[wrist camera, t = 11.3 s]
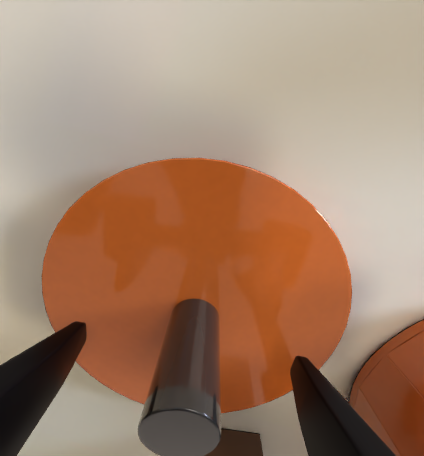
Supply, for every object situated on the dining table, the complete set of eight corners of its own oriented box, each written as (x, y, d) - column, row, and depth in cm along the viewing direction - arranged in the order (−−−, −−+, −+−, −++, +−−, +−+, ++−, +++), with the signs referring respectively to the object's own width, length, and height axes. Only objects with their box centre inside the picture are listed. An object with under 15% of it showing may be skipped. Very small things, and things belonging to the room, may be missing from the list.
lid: (213, 423, 14) (211, 576, 9) (14, 312, 12) (-159, 444, 6) (399, 291, 10) (586, 428, 5) (166, 71, 8) (47, -136, 2)
